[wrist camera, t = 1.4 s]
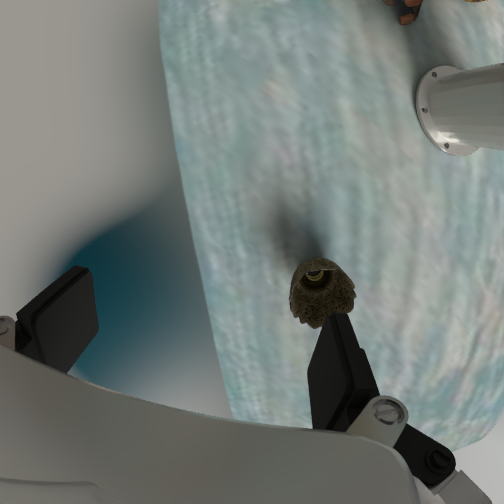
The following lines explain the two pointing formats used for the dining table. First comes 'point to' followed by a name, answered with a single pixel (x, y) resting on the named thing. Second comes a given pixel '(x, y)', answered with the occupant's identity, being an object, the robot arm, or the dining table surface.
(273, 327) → the dining table surface
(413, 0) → the pottery mug
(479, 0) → the decorative figurine
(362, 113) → the dining table surface
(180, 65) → the dining table surface
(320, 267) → the dark tapered rough piece
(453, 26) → the dining table surface
